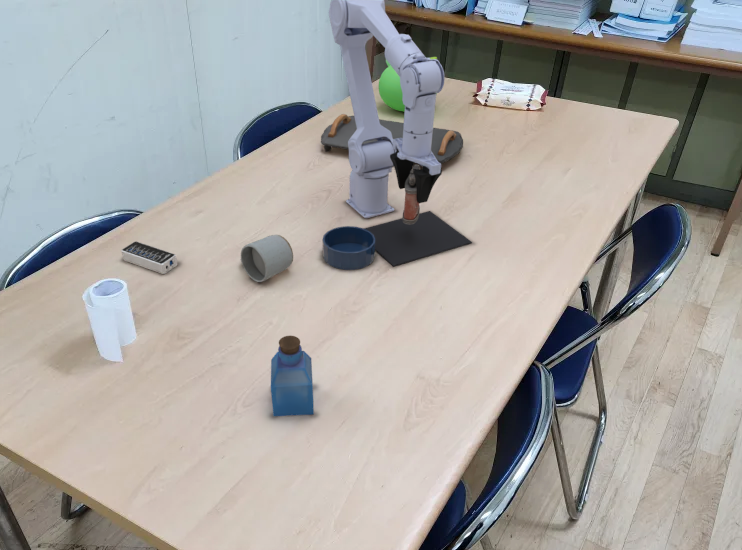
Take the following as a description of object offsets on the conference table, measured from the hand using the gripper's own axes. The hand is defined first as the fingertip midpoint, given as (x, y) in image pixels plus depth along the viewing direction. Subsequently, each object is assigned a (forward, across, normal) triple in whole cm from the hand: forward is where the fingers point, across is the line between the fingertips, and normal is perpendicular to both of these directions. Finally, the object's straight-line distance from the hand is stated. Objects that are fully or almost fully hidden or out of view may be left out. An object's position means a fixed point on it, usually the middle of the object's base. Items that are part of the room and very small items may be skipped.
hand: (412, 194), depth 133 cm
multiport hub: (+11, -16, -52) cm, 56 cm away
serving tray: (+11, -44, +22) cm, 51 cm away
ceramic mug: (+11, -3, -33) cm, 35 cm away
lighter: (+5, 0, 0) cm, 5 cm away
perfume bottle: (+10, +34, -44) cm, 57 cm away
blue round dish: (+10, 0, -15) cm, 18 cm away
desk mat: (+10, 0, +1) cm, 10 cm away
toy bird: (+11, -67, +42) cm, 80 cm away
